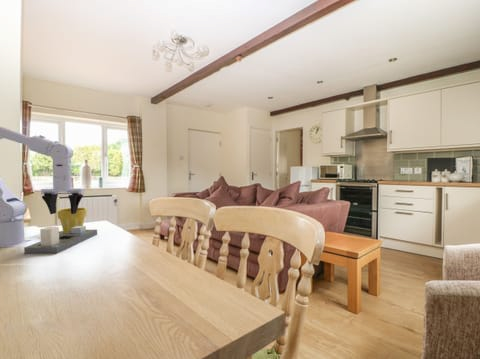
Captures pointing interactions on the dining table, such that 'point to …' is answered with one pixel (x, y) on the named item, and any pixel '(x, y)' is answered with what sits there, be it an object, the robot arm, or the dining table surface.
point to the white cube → (78, 229)
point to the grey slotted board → (60, 243)
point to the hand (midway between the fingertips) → (63, 213)
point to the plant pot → (71, 218)
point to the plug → (49, 236)
